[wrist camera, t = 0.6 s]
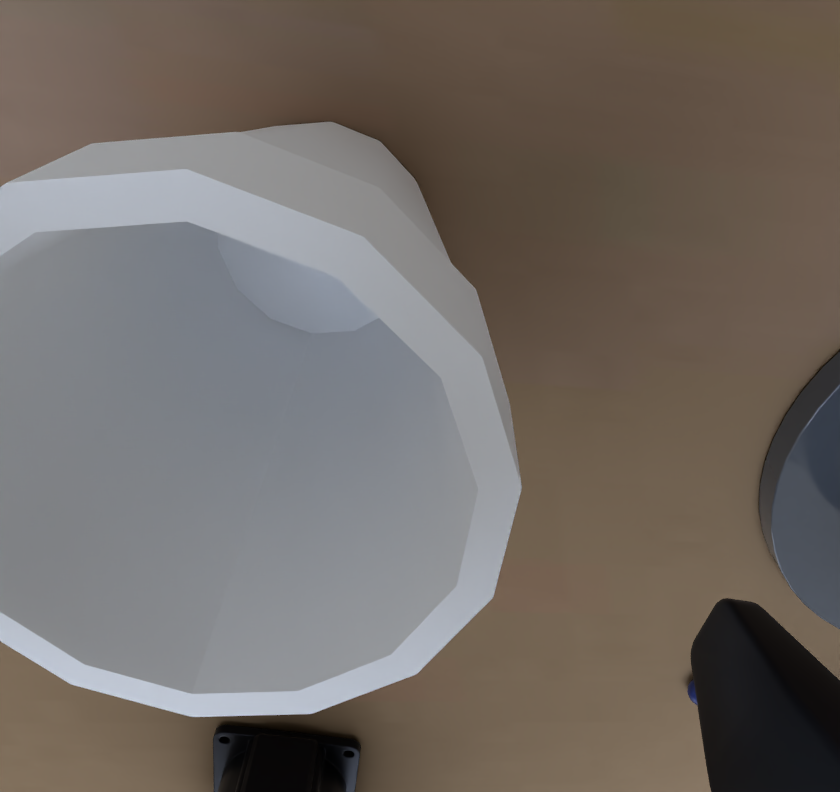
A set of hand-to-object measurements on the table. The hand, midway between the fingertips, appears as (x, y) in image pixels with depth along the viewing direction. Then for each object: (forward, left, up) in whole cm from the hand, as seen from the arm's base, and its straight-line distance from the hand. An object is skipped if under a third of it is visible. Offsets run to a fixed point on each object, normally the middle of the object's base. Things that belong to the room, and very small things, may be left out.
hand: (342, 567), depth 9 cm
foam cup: (-1, +2, -15) cm, 15 cm away
